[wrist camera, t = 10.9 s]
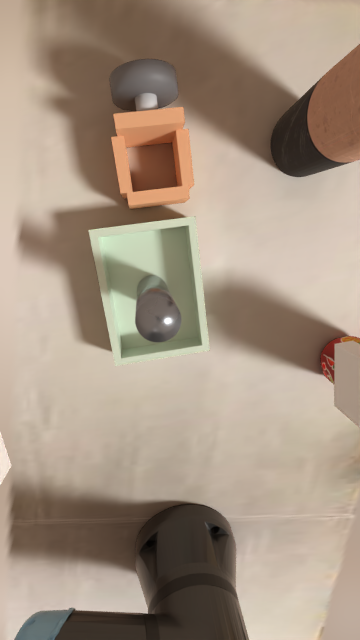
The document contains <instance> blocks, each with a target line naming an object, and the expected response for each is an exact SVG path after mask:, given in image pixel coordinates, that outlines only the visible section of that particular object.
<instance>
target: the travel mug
mask: <svg viewBox="0 0 360 640" xmlns="http://www.w3.org/2000/svg"><path fill="white" fill-rule="evenodd" d="M271 152H272V156H273V159H274V161H275V163H276V165H277V166H278V167H279V169H280V170H281V171H283V172H284V173H286V174H288V175H290V176H294V177H304V176H308V175H312V174H315V173H318V172H322V171H325V170H328V169H331V168H334V167H338V166H341V165H344V164H347V163H351V162H354V161H357V160H360V44H359V45H358V46H357V47H356V48H355V49H353V50H352V51H351V52H350V53H349V54H348V55H347V56H345V57H344V58H343V59H342V60H341V61H340V62H339V63H337V64H336V65H335V66H334V67H333V68H332V69H331V70H329V71H328V72H327V73H326V74H325V75H324V76H323V77H322V78H321V79H320V80H319V81H318V82H317V83H316V84H315V85H314V86H313V87H312V88H311V89H309V90H308V91H307V92H306V93H305V94H304V95H303V96H302V97H301V98H300V99H299V100H298V101H297V102H296V103H295V104H294V105H293V106H292V107H291V108H290V109H289V110H288V111H287V112H286V113H285V114H284V115H283V116H282V117H281V118H280V120H279V121H278V122H277V124H276V126H275V128H274V130H273V134H272V138H271Z"/></svg>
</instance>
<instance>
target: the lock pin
mask: <svg viewBox="0 0 360 640" xmlns="http://www.w3.org/2000/svg"><path fill="white" fill-rule="evenodd" d="M135 324H136V328H137V330H138V332H139V333H140V335H141V336H142V337H144V338H145V339H147V340H149V341H151V342H165V341H167V340H169V339H171V338H173V337H174V336H175V335H176V334H177V332H178V331H179V329H180V326H181V314H180V311H179V309H178V307H177V305H176V303H175V301H174V299H173V297H172V295H171V293H170V291H169V289H168V287H167V285H166V283H165V281H164V280H163V279H162V278H160V277H158V276H155V275H149V276H146V277H144V278H143V279H142V280H141V281H140V282H139V284H138V286H137V297H136V315H135Z"/></svg>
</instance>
